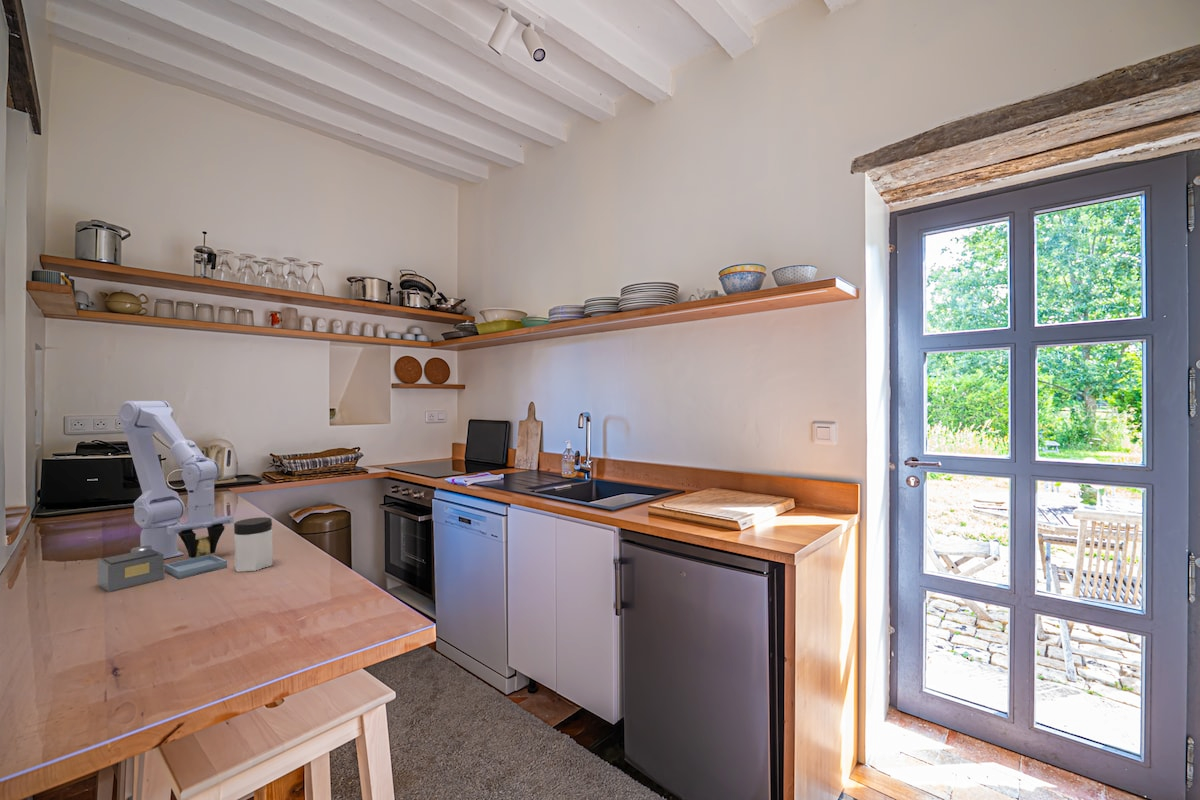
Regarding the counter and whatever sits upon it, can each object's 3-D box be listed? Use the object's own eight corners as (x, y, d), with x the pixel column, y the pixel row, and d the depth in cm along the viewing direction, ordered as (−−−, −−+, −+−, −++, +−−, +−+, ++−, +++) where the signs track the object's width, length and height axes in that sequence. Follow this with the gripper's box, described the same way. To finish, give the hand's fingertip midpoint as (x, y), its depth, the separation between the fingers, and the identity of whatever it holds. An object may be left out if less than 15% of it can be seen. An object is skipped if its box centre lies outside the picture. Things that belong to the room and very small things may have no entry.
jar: (274, 567, 132) (274, 521, 132) (236, 574, 127) (235, 526, 127) (270, 559, 139) (269, 515, 139) (233, 565, 134) (233, 520, 134)
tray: (164, 571, 129) (164, 564, 129) (211, 560, 138) (210, 554, 138) (179, 578, 124) (179, 571, 124) (226, 567, 132) (226, 560, 132)
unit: (97, 584, 120) (97, 558, 120) (151, 572, 129) (151, 547, 129) (108, 592, 116) (108, 564, 116) (164, 578, 124) (163, 553, 124)
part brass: (190, 560, 138) (189, 538, 138) (207, 556, 141) (207, 535, 141) (196, 563, 136) (195, 540, 136) (213, 559, 139) (213, 537, 139)
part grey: (128, 572, 129) (128, 548, 129) (149, 567, 133) (148, 544, 133) (134, 575, 127) (133, 551, 127) (154, 570, 131) (154, 547, 131)
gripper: (173, 511, 130) (174, 564, 130) (238, 501, 142) (238, 550, 143) (163, 508, 134) (164, 560, 134) (227, 499, 146) (227, 546, 146)
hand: (202, 554), depth 139 cm, fingers closed on part brass, 4 cm apart
